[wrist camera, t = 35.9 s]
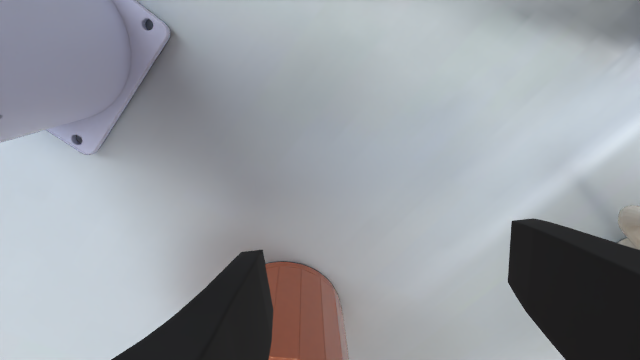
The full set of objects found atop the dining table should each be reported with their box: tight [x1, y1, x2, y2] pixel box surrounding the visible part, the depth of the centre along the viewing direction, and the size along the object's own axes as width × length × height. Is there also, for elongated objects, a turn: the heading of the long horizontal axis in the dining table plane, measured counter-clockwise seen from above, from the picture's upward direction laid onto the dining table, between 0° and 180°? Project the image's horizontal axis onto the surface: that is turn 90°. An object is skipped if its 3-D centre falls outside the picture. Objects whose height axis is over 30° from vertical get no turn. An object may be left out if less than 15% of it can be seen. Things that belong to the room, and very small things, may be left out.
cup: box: [265, 262, 349, 360], centre depth 20 cm, size 7×7×8 cm
